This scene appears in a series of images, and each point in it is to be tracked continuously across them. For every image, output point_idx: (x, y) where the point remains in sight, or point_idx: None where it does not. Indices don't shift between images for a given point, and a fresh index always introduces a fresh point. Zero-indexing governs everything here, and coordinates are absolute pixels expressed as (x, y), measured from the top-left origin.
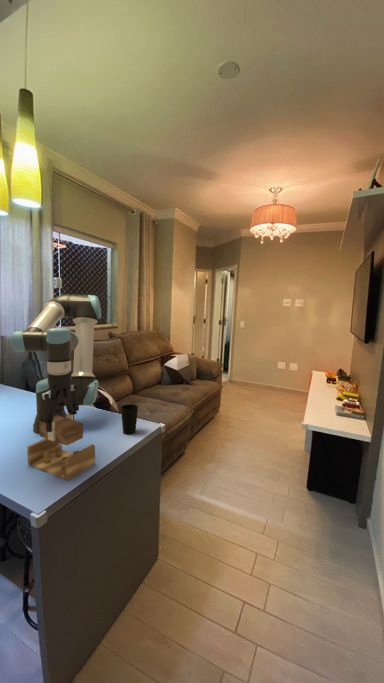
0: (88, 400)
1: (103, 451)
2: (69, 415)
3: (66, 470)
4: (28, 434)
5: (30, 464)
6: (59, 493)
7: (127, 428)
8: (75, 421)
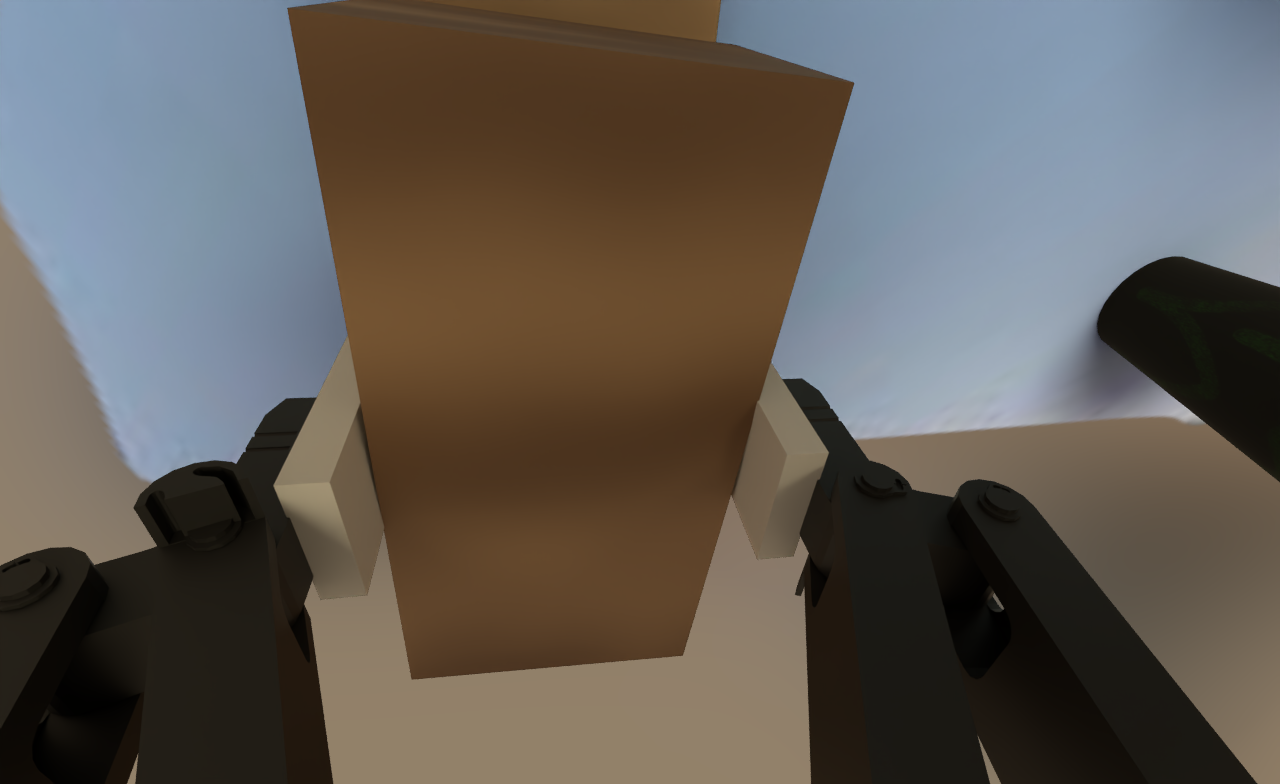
0: None
1: (821, 337)
2: (763, 513)
3: None
4: None
5: None
6: None
7: (1140, 350)
8: (688, 581)
